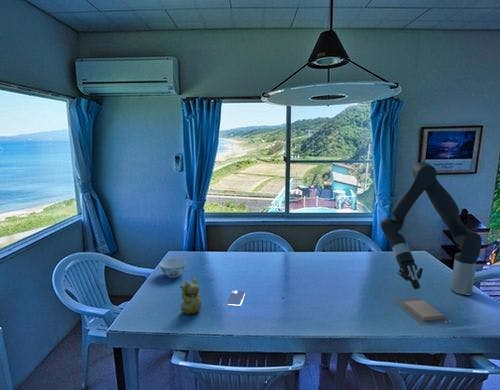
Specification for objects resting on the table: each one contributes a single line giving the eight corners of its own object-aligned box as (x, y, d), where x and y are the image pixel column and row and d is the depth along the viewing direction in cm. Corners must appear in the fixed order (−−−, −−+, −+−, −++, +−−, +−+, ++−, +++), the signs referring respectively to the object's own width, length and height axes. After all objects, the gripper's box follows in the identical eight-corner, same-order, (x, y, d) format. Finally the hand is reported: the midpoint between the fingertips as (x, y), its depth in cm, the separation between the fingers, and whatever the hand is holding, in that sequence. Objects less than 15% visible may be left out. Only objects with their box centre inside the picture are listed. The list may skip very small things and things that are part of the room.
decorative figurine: (194, 304, 148) (193, 274, 145) (206, 310, 143) (205, 279, 140) (178, 312, 141) (177, 281, 138) (190, 319, 135) (189, 287, 133)
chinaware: (189, 270, 187) (189, 258, 185) (182, 281, 172) (181, 268, 171) (165, 269, 188) (165, 257, 187) (156, 280, 174) (155, 267, 172)
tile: (404, 301, 146) (423, 316, 133) (423, 300, 148) (444, 315, 135) (403, 305, 146) (423, 321, 134) (422, 304, 148) (443, 319, 135)
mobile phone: (225, 304, 147) (232, 289, 162) (225, 306, 147) (232, 291, 162) (240, 305, 146) (246, 290, 161) (240, 307, 146) (246, 292, 161)
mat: (389, 301, 152) (389, 299, 152) (419, 298, 155) (419, 297, 154) (421, 327, 131) (421, 325, 130) (454, 323, 133) (454, 322, 133)
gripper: (394, 251, 150) (408, 287, 140) (419, 250, 152) (434, 285, 142) (387, 258, 156) (400, 292, 146) (410, 256, 158) (425, 290, 148)
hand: (417, 288), depth 144 cm, fingers closed
